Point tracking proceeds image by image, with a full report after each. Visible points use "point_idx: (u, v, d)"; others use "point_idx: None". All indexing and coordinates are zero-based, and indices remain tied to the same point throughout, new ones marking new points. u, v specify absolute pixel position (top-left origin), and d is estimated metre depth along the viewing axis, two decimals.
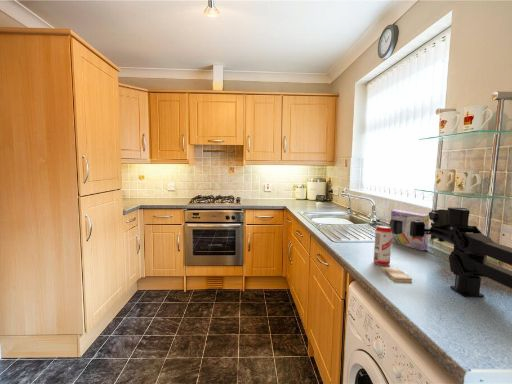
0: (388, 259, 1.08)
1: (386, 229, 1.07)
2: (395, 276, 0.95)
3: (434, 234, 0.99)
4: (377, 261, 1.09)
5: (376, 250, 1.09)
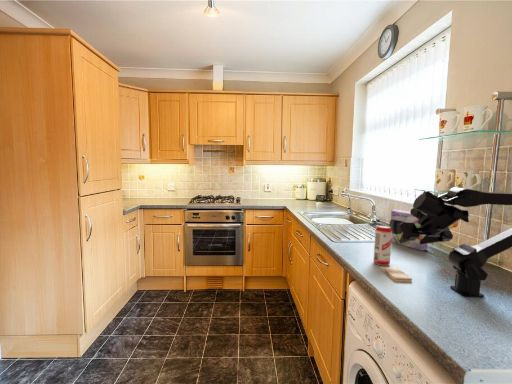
0: (388, 259, 1.08)
1: (386, 229, 1.07)
2: (395, 276, 0.95)
3: (428, 228, 0.89)
4: (377, 261, 1.09)
5: (376, 250, 1.09)
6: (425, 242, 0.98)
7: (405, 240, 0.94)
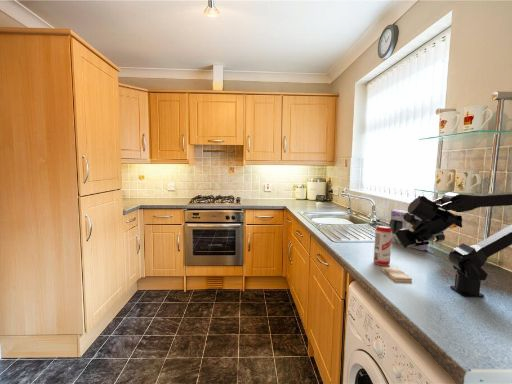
0: (388, 259, 1.08)
1: (386, 229, 1.07)
2: (395, 276, 0.95)
3: (423, 234, 0.89)
4: (377, 261, 1.09)
5: (376, 250, 1.09)
6: None
7: None
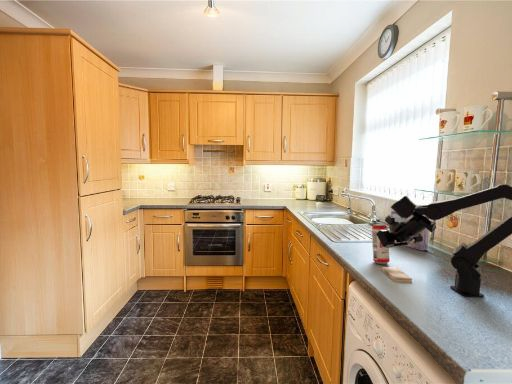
0: (388, 257, 1.08)
1: (382, 226, 1.09)
2: (395, 276, 0.95)
3: (401, 235, 0.98)
4: (377, 260, 1.09)
5: (374, 249, 1.10)
6: None
7: (391, 245, 1.04)
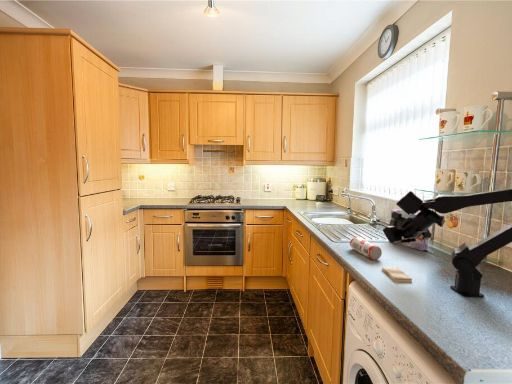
0: (375, 245, 1.16)
1: (354, 238, 1.28)
2: (395, 276, 0.95)
3: (409, 231, 0.95)
4: (369, 250, 1.14)
5: (362, 249, 1.18)
6: (398, 243, 1.03)
7: (398, 242, 1.01)
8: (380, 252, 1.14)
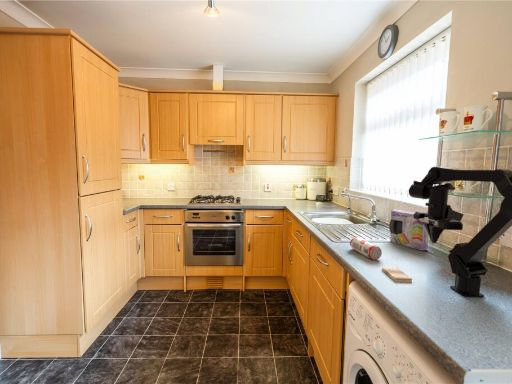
0: (375, 245, 1.16)
1: (354, 238, 1.28)
2: (395, 276, 0.95)
3: None
4: (369, 250, 1.14)
5: (362, 249, 1.18)
6: None
7: None
8: (380, 252, 1.14)
